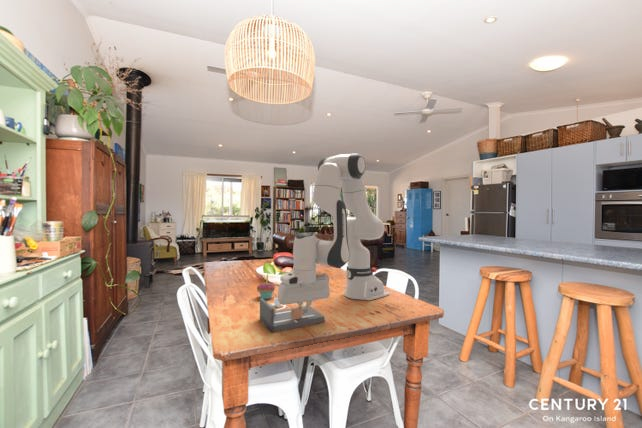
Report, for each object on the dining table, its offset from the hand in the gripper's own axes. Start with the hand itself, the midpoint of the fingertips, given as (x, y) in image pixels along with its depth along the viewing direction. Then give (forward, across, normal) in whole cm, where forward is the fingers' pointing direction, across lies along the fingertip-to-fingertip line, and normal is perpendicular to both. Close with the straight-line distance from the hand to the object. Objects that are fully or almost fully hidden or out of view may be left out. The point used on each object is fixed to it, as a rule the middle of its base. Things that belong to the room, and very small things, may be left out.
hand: (304, 312), depth 108 cm
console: (+4, +3, -4) cm, 7 cm away
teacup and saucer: (+4, +5, -24) cm, 25 cm away
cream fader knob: (+1, +10, -8) cm, 13 cm away
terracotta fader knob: (+1, +3, 0) cm, 3 cm away
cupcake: (+4, +4, -36) cm, 37 cm away
